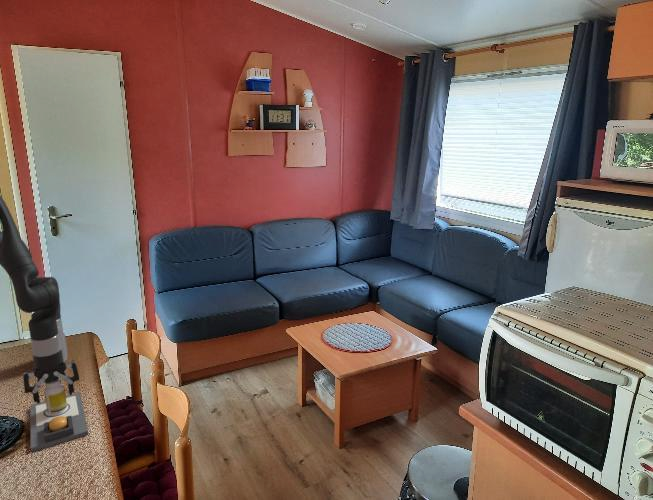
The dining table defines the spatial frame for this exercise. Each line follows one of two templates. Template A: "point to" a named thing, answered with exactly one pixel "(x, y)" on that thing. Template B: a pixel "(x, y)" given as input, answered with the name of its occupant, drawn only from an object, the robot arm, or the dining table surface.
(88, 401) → the dining table surface
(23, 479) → the dining table surface
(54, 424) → the button
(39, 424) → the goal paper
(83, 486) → the dining table surface
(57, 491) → the dining table surface
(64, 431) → the charcoal board
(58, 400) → the supplement bottle
